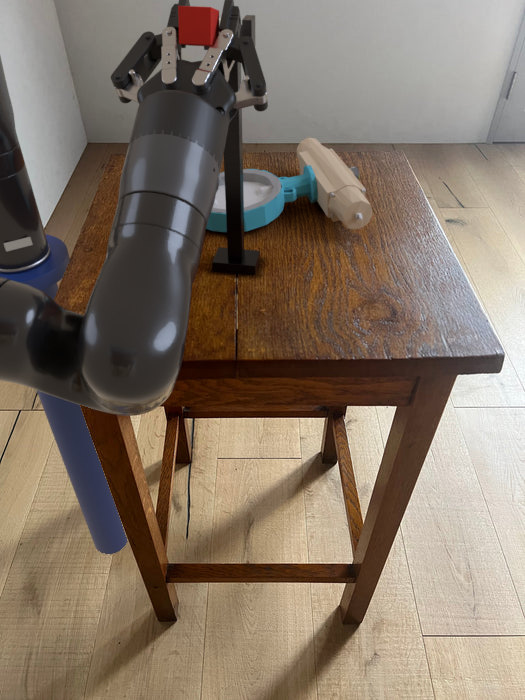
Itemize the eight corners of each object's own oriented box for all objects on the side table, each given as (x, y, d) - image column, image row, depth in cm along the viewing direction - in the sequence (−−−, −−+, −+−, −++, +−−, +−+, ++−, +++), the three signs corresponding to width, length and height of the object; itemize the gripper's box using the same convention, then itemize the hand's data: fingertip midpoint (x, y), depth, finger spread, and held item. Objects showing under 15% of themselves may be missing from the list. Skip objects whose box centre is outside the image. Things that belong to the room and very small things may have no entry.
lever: (178, 44, 48) (177, 5, 47) (218, 49, 62) (218, 19, 60) (210, 45, 47) (211, 6, 46) (243, 50, 61) (244, 20, 60)
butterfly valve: (191, 279, 81) (389, 236, 84) (181, 237, 76) (391, 193, 79) (173, 196, 101) (333, 163, 103) (164, 159, 96) (332, 126, 99)
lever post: (212, 271, 78) (196, 19, 58) (218, 256, 81) (205, 11, 61) (255, 275, 77) (254, 22, 57) (259, 259, 80) (260, 13, 60)
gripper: (255, 143, 41) (284, -31, 46) (71, 131, 43) (120, -36, 48) (263, 201, 48) (287, 44, 53) (105, 189, 50) (144, 38, 55)
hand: (208, 7), depth 51 cm, fingers open, 3 cm apart
